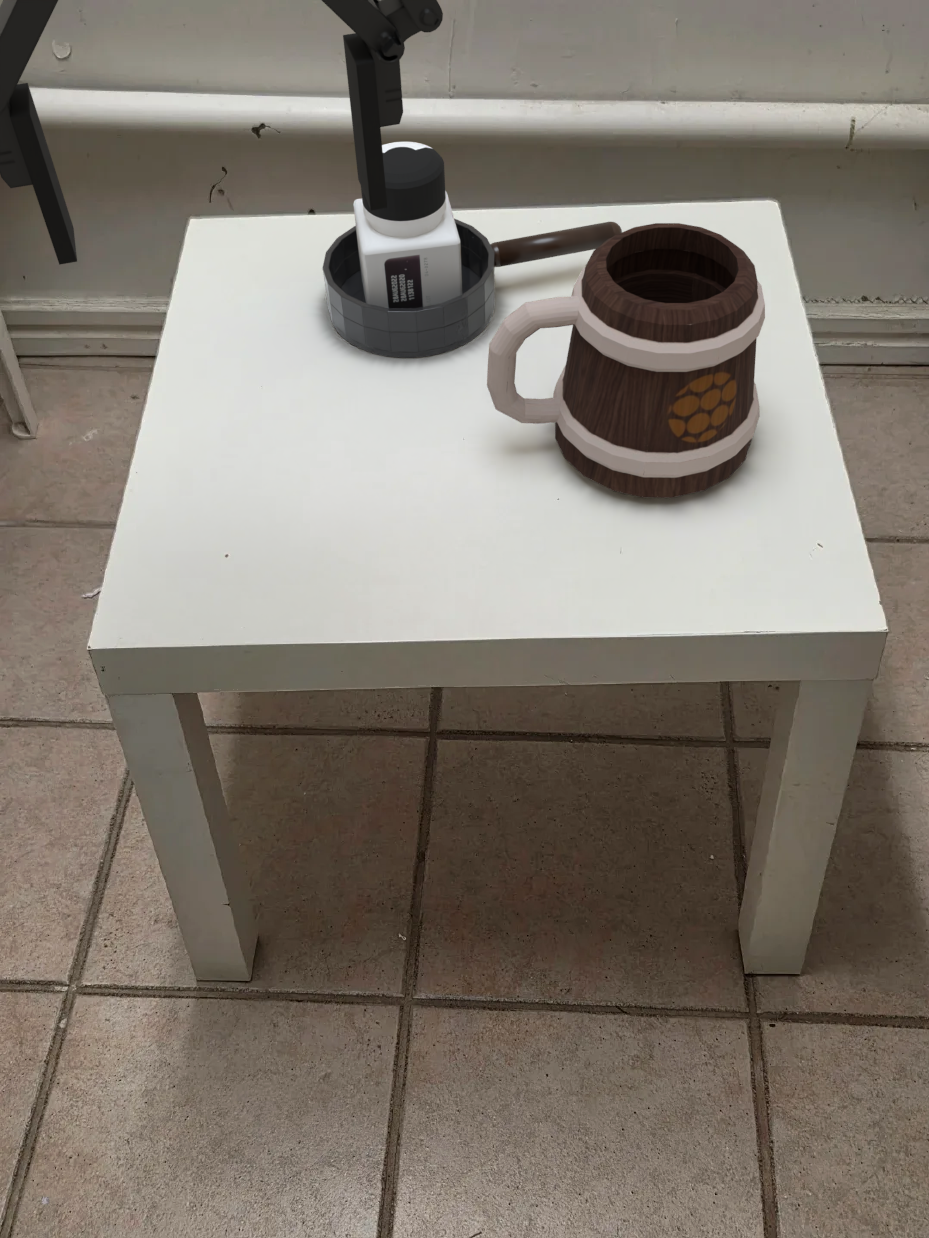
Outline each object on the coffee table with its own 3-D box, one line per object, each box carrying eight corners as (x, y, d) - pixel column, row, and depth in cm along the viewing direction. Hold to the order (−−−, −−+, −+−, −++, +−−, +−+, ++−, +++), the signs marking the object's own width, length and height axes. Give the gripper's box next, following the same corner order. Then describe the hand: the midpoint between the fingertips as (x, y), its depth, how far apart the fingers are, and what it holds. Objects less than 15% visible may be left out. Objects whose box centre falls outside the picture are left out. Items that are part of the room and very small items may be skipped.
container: (463, 322, 98) (458, 177, 88) (371, 333, 98) (355, 188, 88) (450, 268, 103) (443, 125, 93) (361, 279, 103) (345, 136, 93)
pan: (347, 372, 96) (341, 325, 92) (316, 274, 104) (309, 229, 101) (515, 339, 98) (515, 293, 94) (469, 247, 106) (468, 201, 103)
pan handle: (488, 274, 99) (488, 253, 98) (482, 260, 101) (481, 239, 99) (624, 248, 101) (626, 228, 100) (616, 236, 102) (618, 215, 101)
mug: (724, 364, 95) (754, 192, 83) (777, 496, 85) (818, 323, 74) (476, 388, 94) (471, 217, 82) (501, 524, 84) (499, 352, 73)
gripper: (456, -462, 40) (471, 133, 57) (-323, -391, 37) (-67, 222, 53) (520, -419, 36) (517, 216, 52) (-365, -333, 32) (-70, 320, 48)
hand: (222, 220), depth 53 cm, fingers open, 13 cm apart
